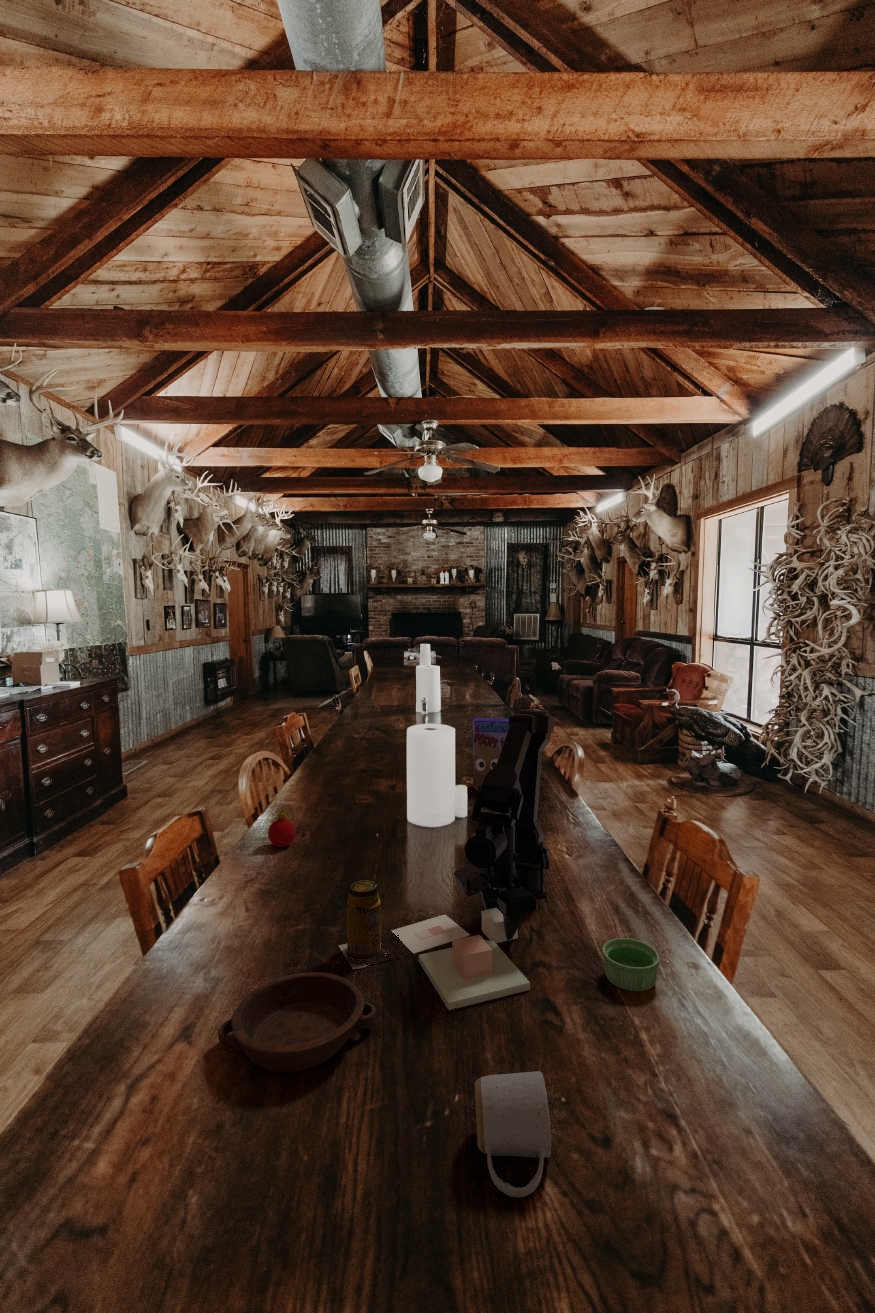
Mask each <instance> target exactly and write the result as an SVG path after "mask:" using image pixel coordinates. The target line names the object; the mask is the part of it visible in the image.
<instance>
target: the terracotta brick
mask: <svg viewBox="0 0 875 1313" xmlns="http://www.w3.org/2000/svg"><path fill="white" fill-rule="evenodd" d="M485 940H486V939H484V938H483V936H481V934H476V935H475V934H474V935H470V936H467V937H464V938H461V939H457V940H452V947H451V948H452V955H453V965H454V966H455V967H456V969H457V970H458V971H459V973H460V974H461V976H462V977H463V978H464V980H466V979H470V978H474V977H478V976H482V975H486V974H490V973H492V948H491V947H490V946H489V945H488V944H487V943H486V942H485Z"/></svg>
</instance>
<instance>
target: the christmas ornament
mask: <svg viewBox="0 0 875 1313" xmlns="http://www.w3.org/2000/svg"><path fill="white" fill-rule="evenodd" d="M296 836H297V828H296V826H295V823H293V821H291V820H290V819H288V818H287V816H286V812H284V809H283V807H282V808H280V810H279V812H278V813H277V819H276V820H275V821H273V822H272V823H271V824H270V825H269V828H268V830H267V837H268V840H269V842H270V844H272V845H273V846H275V847H278V848H285V847H287V846H290V844H292V843H293V842H294V840H295V838H296Z"/></svg>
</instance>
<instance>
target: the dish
mask: <svg viewBox="0 0 875 1313" xmlns="http://www.w3.org/2000/svg"><path fill="white" fill-rule="evenodd" d="M376 1018H377V1009H376V1006H375V1005H373V1004H372V1003H370V1002H367V1001H365V997H364V995H363V993H362V992H361V991H360V990H359V988H358V987H357V986H356V985H355V984H354V983H352V982H351V981H350V980H348V979H346V978H344V977H341V976H339V975H336V974H333V973H327V972H322V971H321V972H315V971H313V972H302V973H301V972H299V973H295V974H294V973H293V974H289V975H286V976H281V977H278V978H274V979H272V980H270V981H268V982H265V983H264V984H261V985H260V986H257V987H256V988H254V989H253V990H251V991H250V992H249V993H247V994H246V995H245V997H243V999H241V1001H240V1002H239V1004H238V1005H237V1007H236V1009H234V1011H233V1014H232V1015H231V1018H229V1019H227V1020H226V1021H224V1022H223V1023H222V1024H221V1025H220V1026H219V1028H218V1030H217V1036H218V1042H219V1044H220V1045H221V1047H222V1048H225V1049H226V1050H232V1051H236V1052H237V1051H238V1052H243V1053H244V1054H245V1055H246V1056H247V1058H249V1060H251V1062H252V1063H254V1064H255V1065H257V1066H258V1067H260V1068H262V1069H263V1070H264V1069H265V1070H267V1071H271V1072H275V1073H276V1072H277V1073H295V1072H301V1071H306V1070H309V1069H313V1068H315V1067H318V1066H320V1065H321V1064H324V1063H325V1062H327V1061H329V1060H330V1058H332V1057H333V1056H336V1054H337V1053H339V1052H340V1051H341V1049H342V1048H343V1047H344V1046H345V1045H346V1043H347V1042H348V1041H349V1039H350V1038H351V1036H352V1035H353V1034H354V1033H356V1032H358V1031H362V1030H364V1029H368V1028H370V1027H371V1026H373V1025H374V1023H375V1022H376V1020H377V1019H376ZM230 1033H233V1035H228V1034H230Z"/></svg>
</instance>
